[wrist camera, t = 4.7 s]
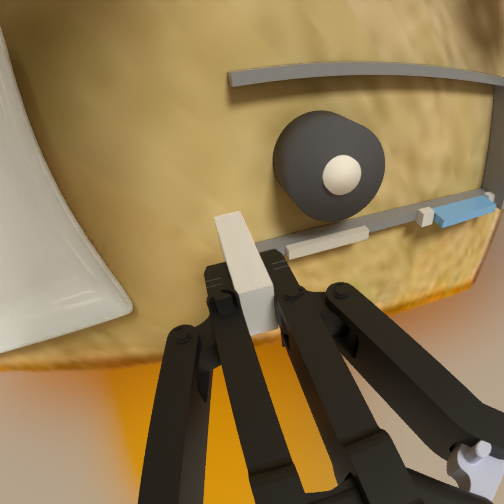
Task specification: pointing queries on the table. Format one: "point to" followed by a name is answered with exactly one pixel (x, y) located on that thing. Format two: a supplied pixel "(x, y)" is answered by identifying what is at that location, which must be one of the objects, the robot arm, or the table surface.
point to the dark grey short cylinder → (328, 165)
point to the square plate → (42, 241)
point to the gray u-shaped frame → (438, 210)
